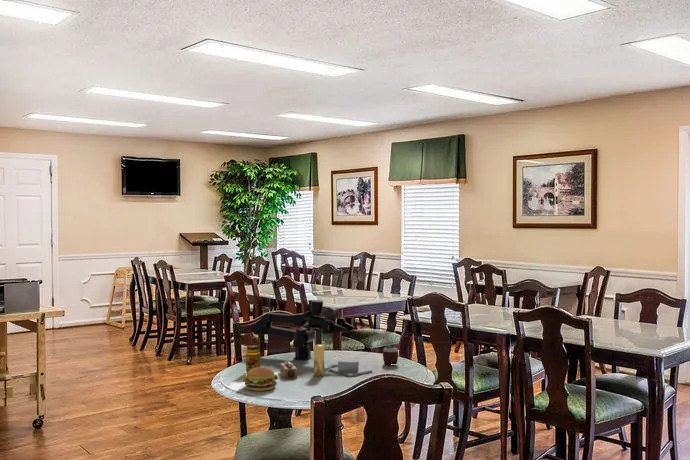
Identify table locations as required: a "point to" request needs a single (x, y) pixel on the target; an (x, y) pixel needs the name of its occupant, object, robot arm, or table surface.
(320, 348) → the tan cylinder
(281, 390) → the table surface
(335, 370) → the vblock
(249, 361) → the condiment
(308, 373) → the table surface
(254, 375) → the food
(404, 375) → the table surface
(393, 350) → the mate gourd
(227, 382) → the table surface
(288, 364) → the drift
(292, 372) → the beam
